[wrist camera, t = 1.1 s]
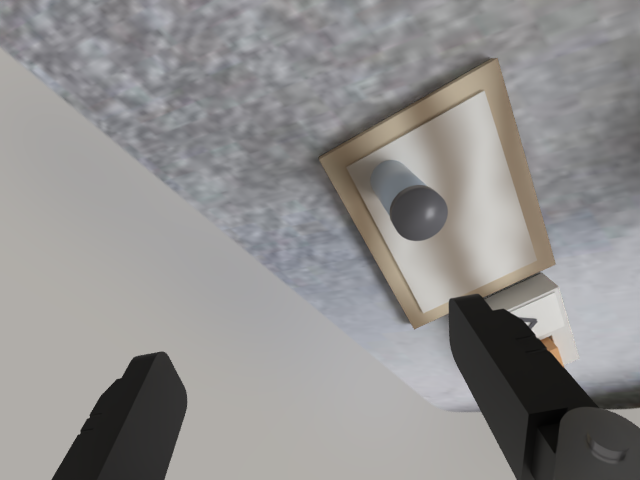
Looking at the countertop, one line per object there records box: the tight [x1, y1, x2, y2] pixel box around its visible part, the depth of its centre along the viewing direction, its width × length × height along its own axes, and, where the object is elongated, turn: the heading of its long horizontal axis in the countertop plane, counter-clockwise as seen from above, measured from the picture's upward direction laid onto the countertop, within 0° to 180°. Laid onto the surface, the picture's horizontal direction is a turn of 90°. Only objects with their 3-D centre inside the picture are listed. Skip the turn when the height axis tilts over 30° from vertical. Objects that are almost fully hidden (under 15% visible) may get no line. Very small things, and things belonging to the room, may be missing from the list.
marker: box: [370, 160, 448, 241], centre depth 24 cm, size 3×3×8 cm
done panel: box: [484, 273, 580, 365], centre depth 35 cm, size 8×10×3 cm
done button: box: [541, 337, 564, 367], centre depth 35 cm, size 4×4×2 cm
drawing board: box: [319, 58, 556, 329], centre depth 30 cm, size 14×19×1 cm
